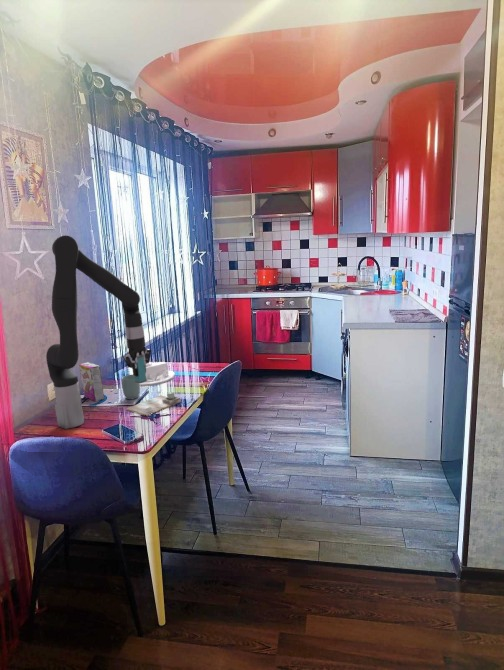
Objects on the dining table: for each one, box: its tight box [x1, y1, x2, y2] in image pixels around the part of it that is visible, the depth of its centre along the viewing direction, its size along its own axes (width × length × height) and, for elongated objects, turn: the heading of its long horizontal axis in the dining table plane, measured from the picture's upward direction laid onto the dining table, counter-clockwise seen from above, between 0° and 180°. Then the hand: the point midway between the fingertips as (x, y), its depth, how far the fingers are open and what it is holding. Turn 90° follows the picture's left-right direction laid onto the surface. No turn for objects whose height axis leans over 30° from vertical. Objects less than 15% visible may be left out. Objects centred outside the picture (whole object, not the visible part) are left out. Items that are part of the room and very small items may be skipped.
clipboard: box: [126, 394, 182, 417], centre depth 205 cm, size 19×14×2 cm
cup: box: [120, 374, 141, 400], centre depth 217 cm, size 8×8×10 cm
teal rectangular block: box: [134, 354, 147, 383], centre depth 202 cm, size 4×4×12 cm
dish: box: [140, 361, 176, 387], centre depth 245 cm, size 25×25×11 cm
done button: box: [166, 391, 176, 400], centre depth 207 cm, size 3×3×2 cm
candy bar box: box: [78, 361, 105, 402], centre depth 219 cm, size 11×5×16 cm, turn 47°
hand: (140, 374), depth 203 cm, fingers closed on teal rectangular block, 3 cm apart
